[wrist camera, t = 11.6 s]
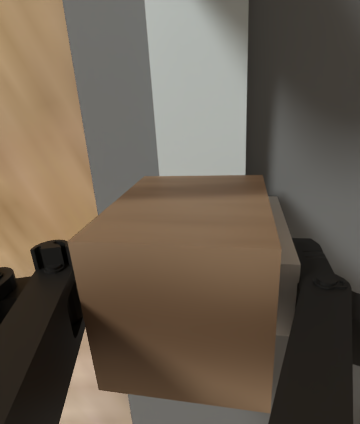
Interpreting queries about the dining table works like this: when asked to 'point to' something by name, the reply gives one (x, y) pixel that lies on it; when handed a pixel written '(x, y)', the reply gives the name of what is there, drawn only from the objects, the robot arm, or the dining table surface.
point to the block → (183, 290)
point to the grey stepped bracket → (199, 85)
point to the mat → (255, 135)
